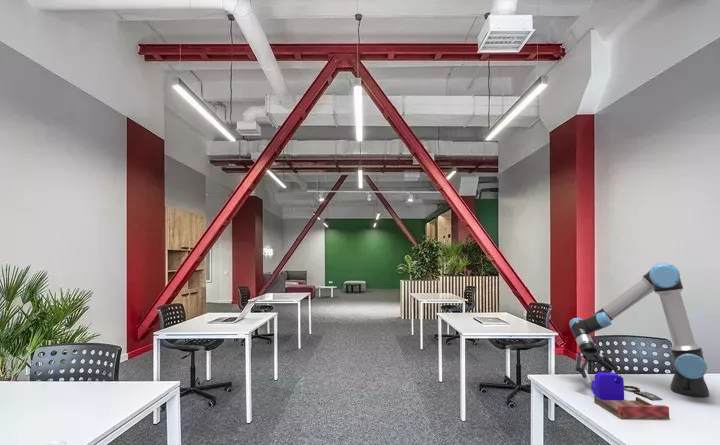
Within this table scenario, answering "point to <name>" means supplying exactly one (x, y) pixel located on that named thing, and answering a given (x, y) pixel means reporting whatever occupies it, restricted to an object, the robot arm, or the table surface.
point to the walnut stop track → (627, 402)
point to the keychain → (637, 391)
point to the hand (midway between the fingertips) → (603, 383)
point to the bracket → (608, 386)
